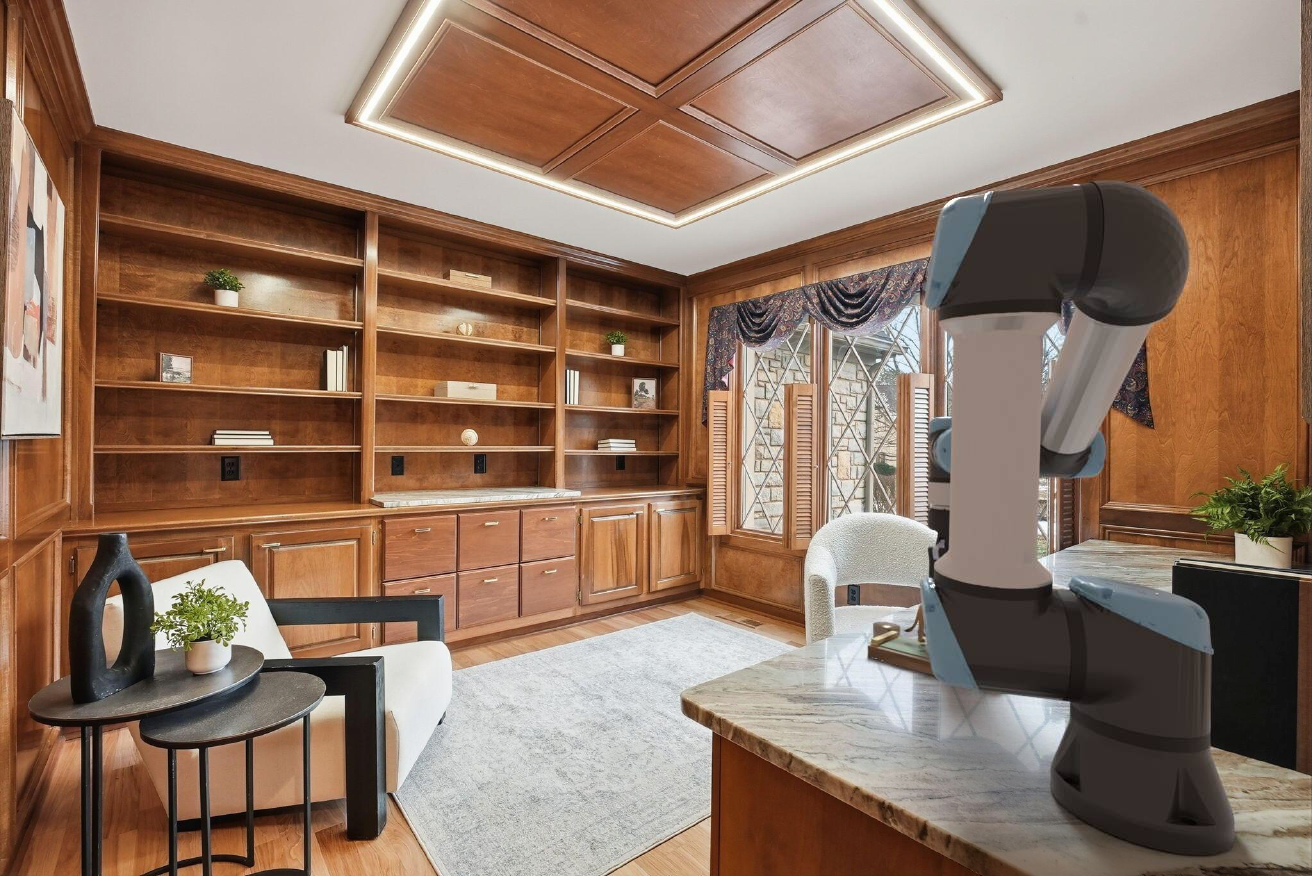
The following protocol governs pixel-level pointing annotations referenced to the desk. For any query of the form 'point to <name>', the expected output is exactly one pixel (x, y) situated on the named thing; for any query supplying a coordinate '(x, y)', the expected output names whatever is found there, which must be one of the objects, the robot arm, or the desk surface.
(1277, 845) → the desk surface
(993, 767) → the desk surface
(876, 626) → the paperweight
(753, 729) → the desk surface
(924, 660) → the plinth
